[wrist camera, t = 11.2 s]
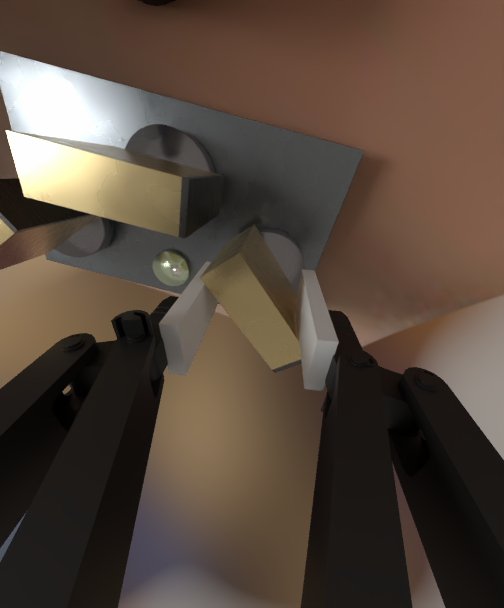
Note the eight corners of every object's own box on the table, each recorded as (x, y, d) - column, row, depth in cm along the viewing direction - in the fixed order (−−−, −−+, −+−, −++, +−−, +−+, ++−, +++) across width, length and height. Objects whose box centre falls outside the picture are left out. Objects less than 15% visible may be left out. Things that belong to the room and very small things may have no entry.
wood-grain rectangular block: (130, 211, 18) (35, 236, 11) (125, 115, 15) (-13, 66, 8) (220, 234, 18) (182, 274, 11) (234, 144, 15) (193, 122, 8)
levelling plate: (64, 252, 23) (41, 261, 21) (22, 61, 16) (-21, 43, 13) (292, 311, 23) (294, 326, 21) (355, 153, 16) (366, 150, 14)
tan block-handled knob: (79, 264, 21) (-21, 311, 14) (22, 201, 18) (-133, 220, 12) (135, 228, 18) (48, 262, 12) (78, 150, 16) (-75, 135, 9)
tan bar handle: (213, 248, 19) (173, 293, 12) (277, 206, 16) (273, 231, 10) (260, 313, 21) (250, 381, 14) (320, 285, 19) (341, 348, 12)
